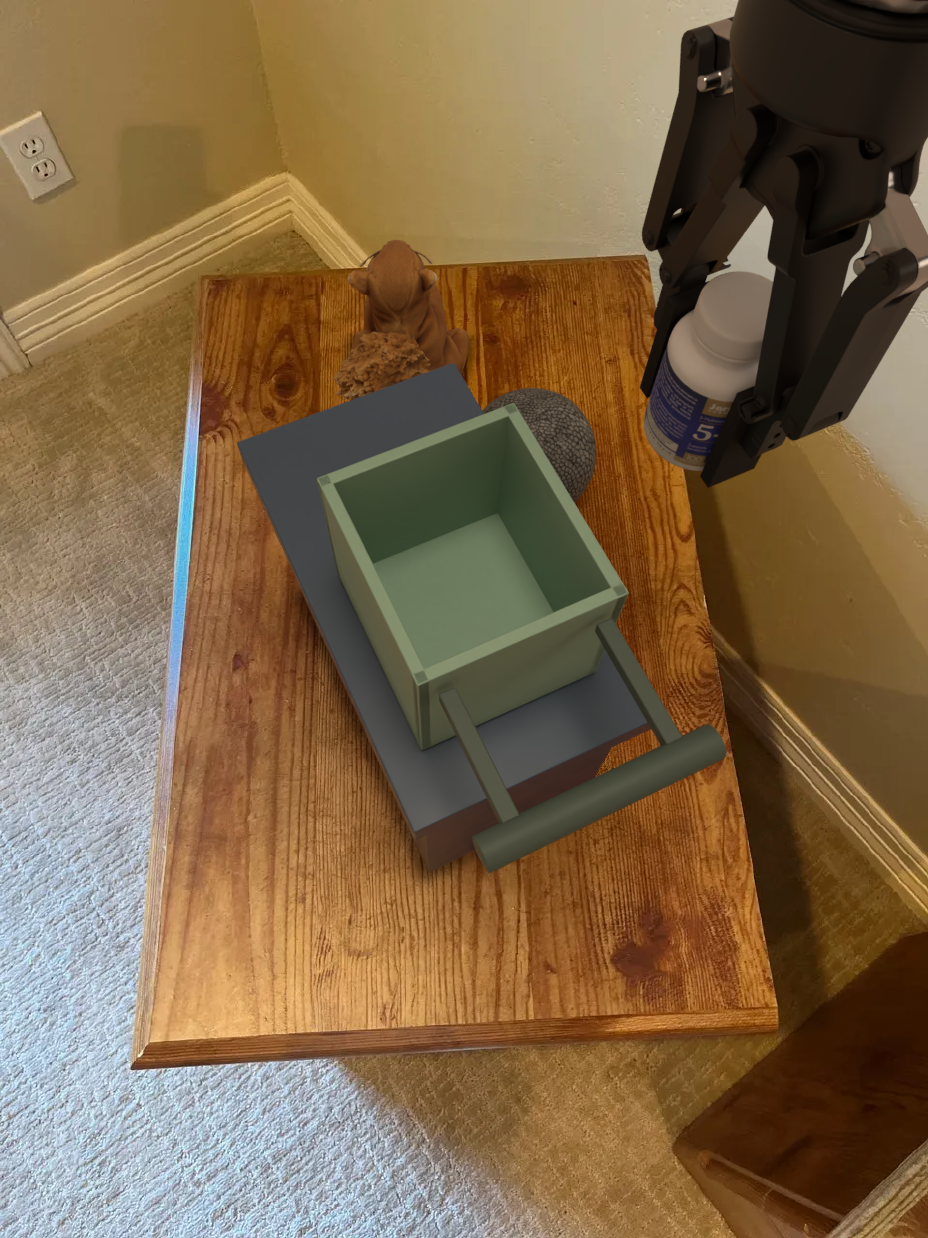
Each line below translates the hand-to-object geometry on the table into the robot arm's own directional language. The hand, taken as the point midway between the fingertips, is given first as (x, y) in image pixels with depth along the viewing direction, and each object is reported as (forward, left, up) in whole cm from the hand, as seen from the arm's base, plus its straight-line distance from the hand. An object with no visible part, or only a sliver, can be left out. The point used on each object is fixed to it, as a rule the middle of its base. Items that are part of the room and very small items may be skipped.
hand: (695, 426), depth 48 cm
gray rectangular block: (+1, +14, -27) cm, 30 cm away
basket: (-6, +14, -6) cm, 17 cm away
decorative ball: (+14, 0, -27) cm, 30 cm away
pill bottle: (0, 0, 0) cm, 0 cm away
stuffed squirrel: (+27, +5, -27) cm, 39 cm away
